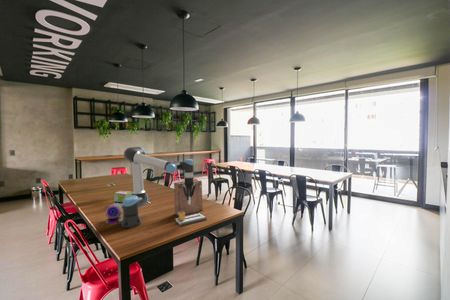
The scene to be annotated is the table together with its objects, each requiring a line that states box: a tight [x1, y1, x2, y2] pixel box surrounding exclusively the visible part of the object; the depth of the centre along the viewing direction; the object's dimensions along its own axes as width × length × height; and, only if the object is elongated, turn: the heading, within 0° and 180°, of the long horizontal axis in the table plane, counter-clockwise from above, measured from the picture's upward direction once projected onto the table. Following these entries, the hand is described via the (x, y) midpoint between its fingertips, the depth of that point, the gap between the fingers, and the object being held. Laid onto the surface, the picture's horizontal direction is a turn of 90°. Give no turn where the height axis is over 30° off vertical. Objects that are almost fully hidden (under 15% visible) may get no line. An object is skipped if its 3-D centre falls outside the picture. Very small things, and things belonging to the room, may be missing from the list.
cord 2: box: [180, 217, 207, 227], centre depth 182 cm, size 2×23×2 cm, turn 123°
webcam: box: [105, 203, 123, 224], centre depth 189 cm, size 13×13×15 cm
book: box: [173, 178, 203, 217], centre depth 208 cm, size 25×9×30 cm, turn 130°
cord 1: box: [173, 212, 199, 221], centre depth 196 cm, size 2×23×2 cm, turn 123°
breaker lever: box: [178, 211, 185, 220], centre depth 184 cm, size 4×4×7 cm
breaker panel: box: [175, 212, 206, 226], centre depth 188 cm, size 11×23×2 cm, turn 123°
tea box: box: [113, 190, 132, 208], centre depth 233 cm, size 15×10×15 cm, turn 73°
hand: (189, 203), depth 188 cm, fingers closed
